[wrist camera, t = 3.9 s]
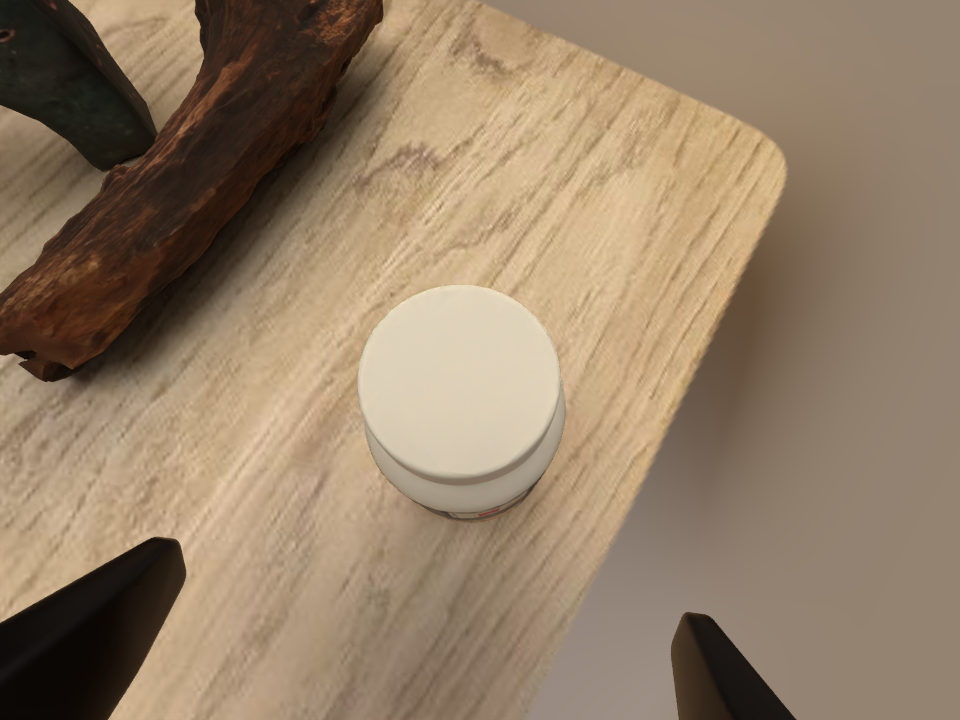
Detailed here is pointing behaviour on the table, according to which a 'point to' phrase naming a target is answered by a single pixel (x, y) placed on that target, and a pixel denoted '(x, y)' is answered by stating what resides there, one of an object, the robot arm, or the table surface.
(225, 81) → the driftwood
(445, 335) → the pill bottle
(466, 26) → the table surface
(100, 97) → the ceramic cat
